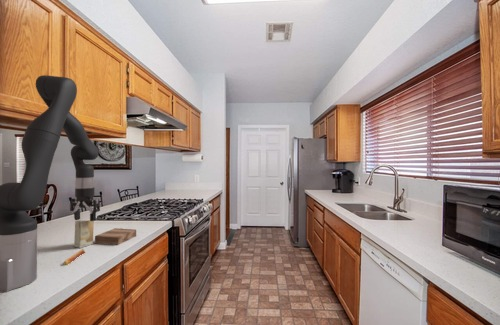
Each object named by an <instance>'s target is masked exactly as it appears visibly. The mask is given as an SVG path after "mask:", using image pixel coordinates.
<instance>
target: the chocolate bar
mask: <svg viewBox="0 0 500 325" xmlns="http://www.w3.org/2000/svg"><path fill="white" fill-rule="evenodd" d="M85 253H86V251H85V250H84V248H82V249H80V250H78V251H77V252H76V253H74V254H73V255H71V256H70V257H68V258H67V259H65V260H64V262H63V263H62V266H69V265H70V264H72V263H73V262H75V261H76V260H77V259H78V258H77V257H79V256H80V255H81V256H83V255H85ZM82 254H83V255H82ZM81 256H80V257H81ZM80 257H79V258H80ZM76 258H77V259H76ZM75 259H76V260H75ZM72 261H73V262H72ZM71 262H72V263H71ZM68 264H69V265H68Z"/></svg>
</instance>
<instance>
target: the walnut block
mask: <svg viewBox="0 0 500 325" xmlns="http://www.w3.org/2000/svg"><path fill="white" fill-rule="evenodd" d="M136 237H137V229H134V228H133V229H131V228H117V227H116V228H112V229H109V230H107V231H104V232H102V233H99V234H97V235H95V236H94V244H100V245H110V246H111V245H112V246H114V245H115V246H119V245H121V244H124V243H126V242H127V241H129V240H132V239H134V238H136Z"/></svg>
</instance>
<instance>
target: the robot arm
mask: <svg viewBox="0 0 500 325" xmlns="http://www.w3.org/2000/svg"><path fill="white" fill-rule="evenodd" d="M35 88H36V91H37V94H38V95H39V96H40V98H41V99H42V101H43V102H44V104H45V105H46V106H47V107H48V108H47V109H46V110H45V111H44V112H42V113H41V114H39V115H38V116H36V118H34V119H33V120H32V121H30V123H29V124H28V125H27V127H26V129H25V132H24V134H23V137H22V140H21V150H22V153H23V156H24V161H25V171H24V173H23V176H22V178H21V179H22V180H21V181H20V182H6V183H3V184H2V183H1V185H0V291H2V292H9V291H11V290H14V289H19V288H21V287H22V288H23V287H24V286H27V285H30V284H31V283H33V282H35V281H36V280H37V278H38V220H37V219H35V218H34V217H32V216H30V215H29V214H28V213H27V212H30V211H33V210H36V209H37V208H38V207H40V205H41V204H42V202H43V200H44V199H45V195H46V192H47V191H46V190H47V186H48V180H49V175H50V171H51V170H50V169H51V167H52V163H53V159H54V157H55V153H56V150H57V148H58V145H59V142H60V139H61V136H62V131H64V133H65V135H66V137H67V139H68V141H69V142H70V144H72V145H74V146H73V147H72V148H71V150H70V155H71V159H72V161H73V165H74V168H75V181H74V197H75V198H71V199H70V204H69V205H70V206H69V210H70V212H73V214H74V216H73V218H74V221H79V220H81V209H86V210H87V211H89V219H90V221H95V220H96V219H97V213H98V212H100V211H101V202H100V199H99V198H95V199H94V196H95V189H96V188H95V182H96V181H95V168H94V166H93V165H92V164H91V165H90V164H88V163H87V164H86V163H85V161H95V160H96V159H97V158H98V156H99V150H98V147H97V145H95V144H94V142H93V141H92V140H91V138H89V137H88V134H87V132H86V130H85V128H84V126H83V124H82V122H81V121H80V120H79V119H78V118H77V117H76V116H74V115H73V113H71V112H70V111H71V109H72V106H73V104H74V102H75V100H76V98H77V94H78V87H77V83H76V82H75V81H74V80H73V79H72V78H69V77H64V76H56V75H55V76H54V75H45V74H44V75H40V76H37V78H36V79H35Z"/></svg>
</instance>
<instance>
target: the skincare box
mask: <svg viewBox="0 0 500 325" xmlns="http://www.w3.org/2000/svg"><path fill="white" fill-rule="evenodd" d="M74 221H75V222H74V243H73V244H74V245H73V247H74V248H79V249H81V248H82V249H83V248H85V247H88V246H90V245H93V244H94V223H95V222H94V221H95V220H94V221H90V218H83V219H79V220H74Z"/></svg>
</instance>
